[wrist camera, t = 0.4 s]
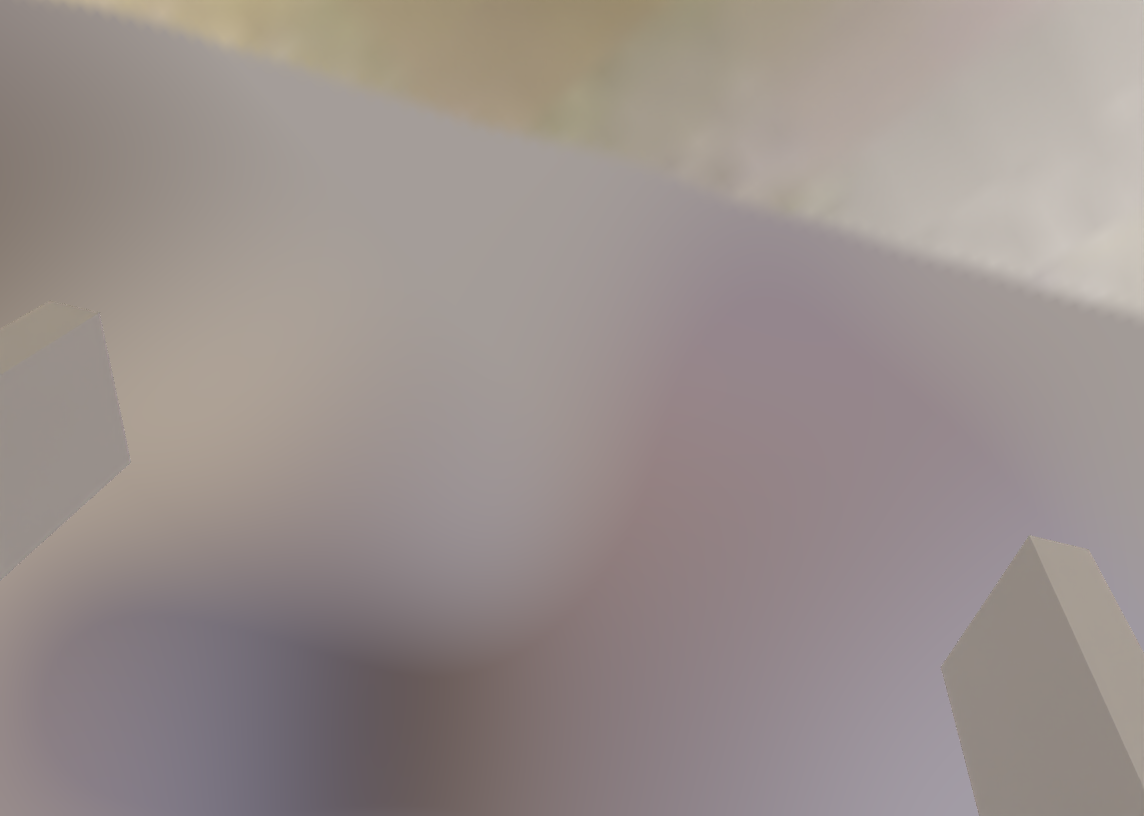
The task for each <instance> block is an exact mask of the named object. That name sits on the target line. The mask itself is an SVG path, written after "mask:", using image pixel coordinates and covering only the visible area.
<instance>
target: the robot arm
mask: <svg viewBox="0 0 1144 816" xmlns="http://www.w3.org/2000/svg"><path fill="white" fill-rule="evenodd" d="M130 463H131V460H130V455H129V451H128V445H127V441H126V436H125V431H124V426H123V422H122V417H121V412H120V407H119V403H118V398H117V393H116V388H115V383H114V379H113V374H112V369H111V365H110V360H109V355H108V350H107V346H106V341H105V336H104V331H103V326H102V322H101V317H100V313H99V312H95V311H91V310H87V309H82V308H78V307H74V306H70V305H66V304H61V303H57V302H53V301H49V302H47V303H45V304H43V305H41V306H40V307H38V308H36V309H34V310H33V311H31V312H29V313H27V314H26V315H24V316H22V317H20V318H18V319H17V320H15V321H14V322H11V323H10V324H8V325H6V326H4V327H3V328H1V329H0V580H2V579H3V578H4V577H5V576H6V575H7V574H8V573H9V572H10V571H12V570H13V569H14V568H15V567H16V566H17V565H18V564H19V563H20V562H22V561H23V560H24V559H25V558H26V557H27V556H28V555H29V554H30V553H32V552H33V551H34V550H35V549H36V548H37V547H38V546H39V545H40V544H41V543H43V542H44V541H45V540H46V539H47V538H48V537H49V536H50V535H51V534H53V533H54V532H55V531H56V530H57V529H58V528H59V527H60V526H61V525H62V524H63V523H64V522H66V521H67V520H68V519H69V518H70V517H71V516H72V515H73V514H74V513H76V512H77V511H78V510H79V509H80V508H81V507H82V506H83V505H85V504H86V503H87V502H88V501H89V500H90V499H91V498H92V497H93V496H94V495H95V494H97V493H98V492H99V491H100V490H101V489H102V488H103V487H104V486H105V485H107V484H108V483H109V482H110V481H111V480H112V479H113V478H114V477H115V476H116V475H118V474H119V473H120V472H121V471H122V470H123V469H124V468H125V467H126V466H127V465H129V464H130ZM941 669H942V673H943V677H944V681H945V685H946V689H947V692H948V696H949V700H950V704H951V708H952V712H953V716H954V719H955V723H956V727H957V731H958V735H959V739H960V743H961V747H962V751H963V755H964V759H965V762H966V766H967V770H968V774H969V778H970V781H971V786H972V790H973V793H974V797H975V801H976V805H977V809H978V813H979V816H1144V652H1143V650H1142V649H1141V647H1140V645H1139V643H1138V641H1137V639H1136V638H1135V635H1134V634H1133V632H1132V630H1131V628H1130V626H1129V624H1128V622H1127V621H1126V619H1125V617H1124V615H1123V613H1122V611H1121V609H1120V608H1119V606H1118V604H1117V602H1116V600H1115V598H1114V596H1113V594H1112V593H1111V591H1110V589H1109V587H1108V585H1107V583H1106V581H1105V579H1104V578H1103V576H1102V574H1101V572H1100V570H1099V568H1098V566H1097V565H1096V563H1095V561H1094V559H1093V557H1092V555H1091V553H1090V552H1089V550H1088V549H1084V548H1080V547H1076V546H1072V545H1068V544H1063V543H1059V542H1055V541H1051V540H1047V539H1042V538H1038V537H1034V536H1029V537H1028V538H1027V540H1026V541H1025V542H1024V544H1023V545H1022V547H1021V549H1020V550H1019V551H1018V553H1017V554H1016V556H1015V558H1014V559H1013V560H1012V562H1011V563H1010V565H1009V566H1008V568H1007V569H1006V571H1005V572H1004V574H1003V575H1002V577H1001V578H1000V580H999V581H998V583H997V584H996V586H995V587H994V589H993V590H992V592H991V593H990V595H989V596H988V598H987V599H986V601H985V602H984V604H983V605H982V607H981V608H980V610H979V611H978V613H977V614H976V615H975V617H974V618H973V620H972V621H971V623H970V624H969V626H968V627H967V629H966V630H965V632H964V633H963V635H962V636H961V638H960V640H959V641H958V642H957V644H956V645H955V647H954V648H953V650H952V651H951V653H950V654H949V656H948V657H947V659H946V660H945V662H944V663H943V665H942V666H941Z"/></svg>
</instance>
